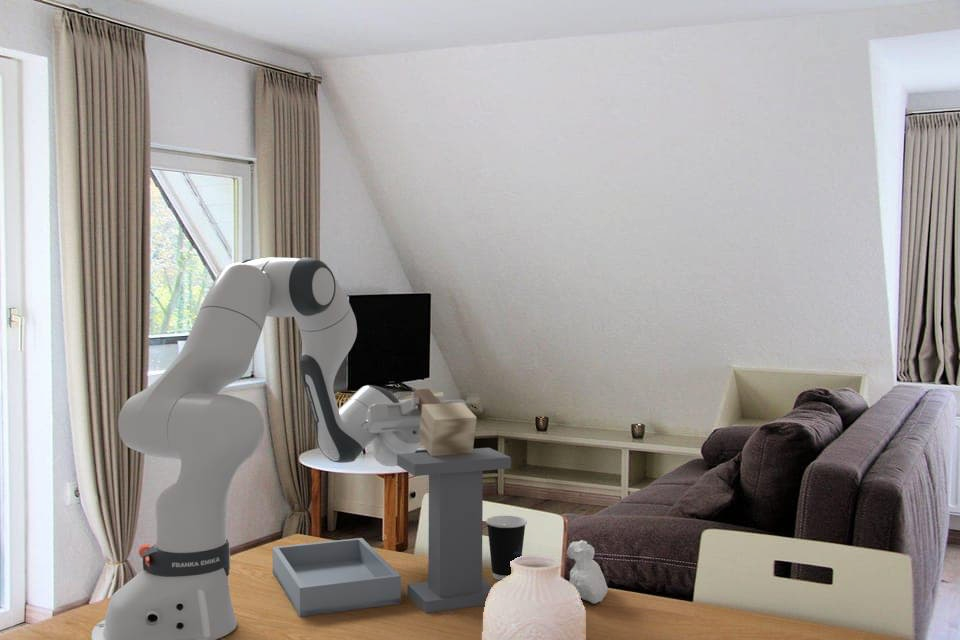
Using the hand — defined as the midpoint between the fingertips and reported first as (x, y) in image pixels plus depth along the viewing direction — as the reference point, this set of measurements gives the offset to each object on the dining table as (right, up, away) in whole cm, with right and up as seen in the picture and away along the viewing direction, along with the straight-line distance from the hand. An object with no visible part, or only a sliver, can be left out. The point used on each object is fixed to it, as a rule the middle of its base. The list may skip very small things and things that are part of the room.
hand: (427, 400), depth 182 cm
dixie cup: (+15, -35, +1) cm, 38 cm away
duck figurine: (+30, -35, -10) cm, 47 cm away
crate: (-17, -34, -6) cm, 39 cm away
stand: (+5, -35, -12) cm, 37 cm away
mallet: (+2, -6, -4) cm, 7 cm away
